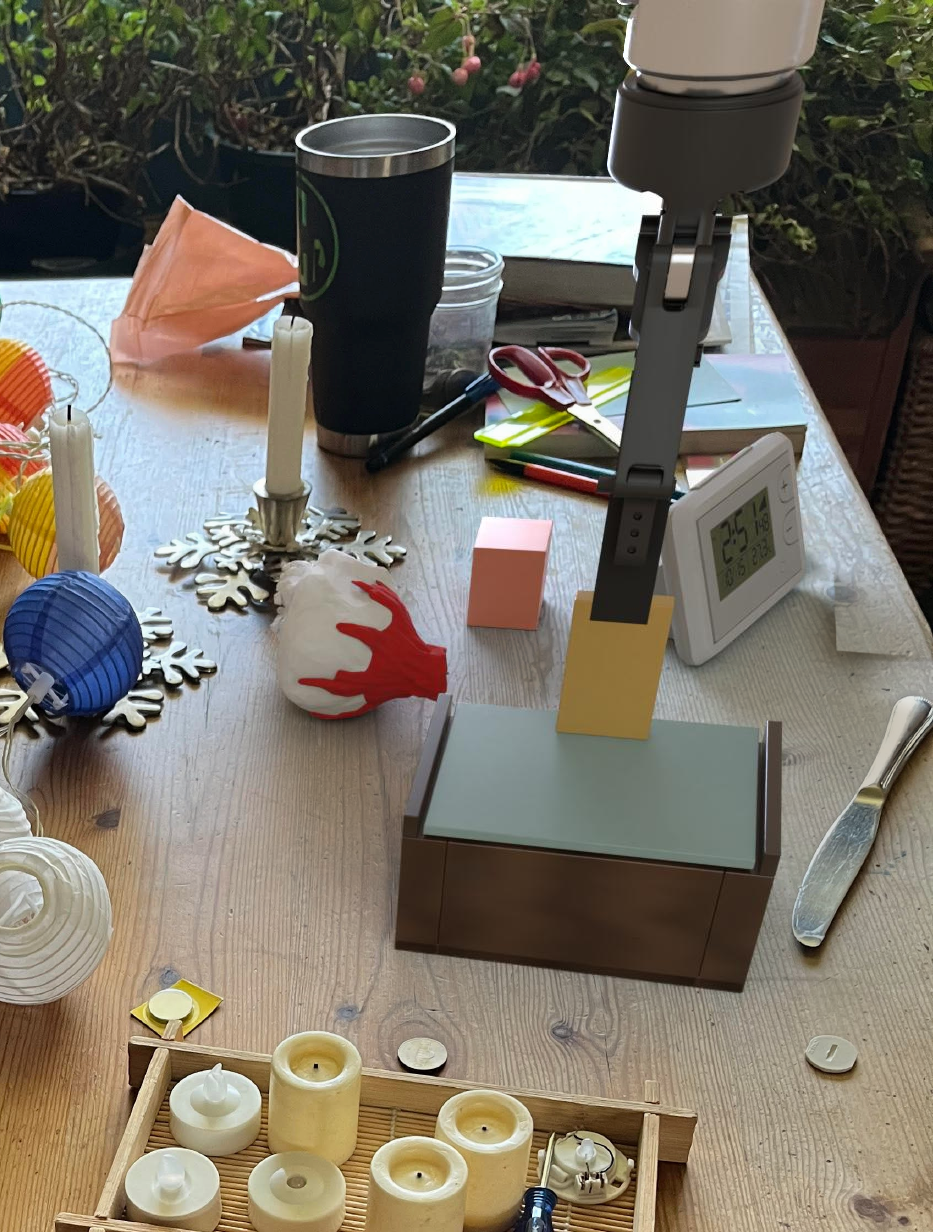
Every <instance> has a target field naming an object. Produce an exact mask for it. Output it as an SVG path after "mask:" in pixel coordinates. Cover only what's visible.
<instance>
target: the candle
mask: <svg viewBox="0 0 933 1232" xmlns="http://www.w3.org/2000/svg"><path fill="white" fill-rule="evenodd" d="M281 571H283V573H281V574H280V575H279V578H278V582H277V584H276V588H275V592H276V593H274V594H273V603H274V605H279V607H278V608H277V609H276V612H277V615H276V617H275V618H274V619H273V622H271V624H270V626H269V630H270V632H272V634H275V635H276V638H277V641H278V643H279V647H278V655H277V662H276V669H275V670H276V677H277V680H278V683H279V687H280V688H281V690H282V692H283V694H284V695H285V697H286V698H287V699H288V700H289V701H291V702H292V703H293V704H295V705H296V706H298V707H299V708H302V709H303V710H305V711H307V712H309V713H308V715H310V716H312V717H315V718H318V719H320V720H343V719H350V718H354V717H359V716H362V715H363V714H365V713H367V712H369V711H372V710H373V709H376V708H377V707H379V706H380V705H382V704H384V703H387V702H389V701H392V700H395V699H408V698H411V697H416V698H421V699H427V700H429V701H432V702H435V703H436V702H437V699H438V695H439V693H444V694H447V691H448V677H447V676H448V675H450V673H449V671H448V670H449V667H448V660H447V659H448V658H447V651H448V649H447V648H446V647H445V646H440V645H436V644H431V643H426V642H425V641H423V639H422V638H421V637H420V635H419V634H418V631H417V630H416V628H415V627H416V626H415V625H414V624H413V621H412V618H411V615H410V612H409V611H408V609H407V607H406V606H405V605H404V603H403V602H402V600H401V598H400V597H399V595H398V594H397V593H396V584H395V582H394V580H393V578H392V576H391V574H390V572H389V570H388V569H387V568H385V566H378V565H372V564H368V563H366V562H363V561H361V560H359V559H357V558H355V557H353V556H351V555H349V554H348V553H345V552H343V551H340V550H338V549H335V548H329V549H326V550H324V551H323V552H321V554H319V556H318V559H317V560H316V562H315V563H312V562H309V561H307V560H299V559H297V560H292V561H291V562H283V563H282V565H281Z"/></svg>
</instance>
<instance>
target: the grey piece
mask: <svg viewBox="0 0 933 1232" xmlns="http://www.w3.org/2000/svg"><path fill="white" fill-rule="evenodd" d="M593 596H594V590H581V589H577V590H576V592H575V595H574V600H573V608H572V614H571V622H570V627H569V628H570V630H569V636H568V641H567V649H566V656H565V662H564V671H563V677H562V685H561V690H560V691H561V692H560V697H559V704H558V705H559V706H558V710H553V709H543V708H531V707H530V708H529V707H519V706H518V707H517V706H506V705H493V704H481V703H472V702H471V703H469V702H456V707H455V709H454V712H453V716H454V717H453V720H452V724H451V728H450V731H449V735H448V739H447V742H446V746H445V750H444V753H443V757H442V761H441V764H440V768H439V772H438V775H437V779H436V783H435V786H434V790H433V794H432V797H431V801H430V805H429V808H428V812H427V816H426V819H425V823H424V828H423V834H426V835H436V836H445V837H454V838H464V839H473V840H482V841H492V842H501V843H510V844H520V845H529V846H538V847H548V848H557V849H566V850H576V851H585V852H594V853H604V854H613V855H622V856H632V857H641V858H651V859H660V860H669V861H679V862H688V863H697V864H707V865H716V866H725V867H735V868H744V869H753V868H754V865H755V861H756V824H757V788H758V752H759V742H760V727H756V726H754V727H753V726H745V725H743V726H742V725H732V724H721V723H720V724H718V723H706V722H697V721H696V722H695V721H683V720H672V719H671V720H670V719H662V718H661V719H660V718H653V716H654V712H655V707H656V706H655V705H656V701H657V695H658V690H659V685H660V680H661V676H662V675H661V674H662V669H663V664H664V659H665V654H666V649H667V643H668V639H669V638H668V634H669V629H670V623H671V618H672V613H673V608H674V599H675V598H674V596H660V595H653V597H652V603H651V608H650V613H649V619H648V624H647V625H642V624H629V623H616V622H603V621H590V614H591V608H592V602H593Z"/></svg>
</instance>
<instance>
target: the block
mask: <svg viewBox="0 0 933 1232" xmlns="http://www.w3.org/2000/svg"><path fill="white" fill-rule="evenodd" d="M553 526H554V520H553V519H539V518H538V519H537V518H536V519H535V518H517V517H501V516H499V517H498V516H483V517H482V519H481V522H480V526H479V528H478V531H477V535H476V539H475V541H474V546H473V551H472V563H471V573H470V584H469V594H468V605H467V617H466V626H468V627H469V626H470V627H483V628H495V629H497V628H498V629H510V630H512V629H513V630H525V631H537V628H538V625H539V619H540V616H541V612H542V611H541V610H542V606H543V603H544V602H543V601H544V597H545V588H546V581H547V574H548V566H549V558H550V550H551V543H552V535H553V528H554V527H553Z"/></svg>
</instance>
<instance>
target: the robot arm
mask: <svg viewBox="0 0 933 1232" xmlns="http://www.w3.org/2000/svg"><path fill="white" fill-rule="evenodd" d="M616 1H617V2H618V4H621V5H624V6H625V5H636V6H635V7H634V8H633V10H632V11H631V13H630V15H629V17H628V22H627V27H626V35H625V42H624V51H623V58H624V61H625V62H626V63H627V64H628V65H629V66H630V68H631V69H632V70H634V71H632V72H631V73H629V74H628V75H627V76H626V77H624V80H623V81H622V82H621V83H620V84H619V85H618V87H617V90H616V91H617V92H616V98H615V105H614V106H615V107H614V113H613V120H612V127H611V128H612V129H611V134H610V143H609V148H608V149H609V150H608V157H607V170H608V173H609V175H610V176H611V178H612V179H613V181H614V182H616V183H617V184H619V185H621V186H622V187H624V188H626V189H628V190H631V191H634V192H637V193H640V194H644V193H646V192H649V193H652V194H654V195H656V196H658V197H660V198H661V204H660V205H661V206H660V212H659V214H642V215H641V221H640V226H639V232H638V236H637V243H636V247H635V248H636V249H635V255H634V260H633V269H632V272H633V273H632V276H633V278H634V280H635V283H636V284H635V289H634V296H633V302H632V307H631V308H632V309H631V314H630V320H629V328H628V335H629V337H630V339H632V340H633V341H634V342H635V343H636V344H637V346H636V347H635V348H634V349H635V350H634V355H633V357H634V360H635V361H634V366H633V369H632V370H631V374H630V380H629V385H628V393H627V399H626V405H625V411H624V417H623V423H622V430H621V435H620V441H619V447H618V455H617V459H616V467H615V472H614V473H612V474H598V478H597V484H596V492H595V494H606V495H607V494H608V495H609V496H608V504H607V510H606V515H605V520H604V527H603V528H604V529H603V534H602V541H601V546H600V553H599V559H598V564H597V565H598V566H597V571H596V577H595V584H594V588H593V589H594V590H593V591H594V596H593V602H592V608H591V614H590V621H603V622H616V623H629V624H642V625H647V624H648V619H649V613H650V608H651V603H652V597H653V592H654V587H655V582H656V576H657V571H658V566H659V561H661V550H662V545H663V539H664V534H665V529H666V524H667V518H668V513H669V508H670V506H671V503H672V502H671V501H672V498H673V494H674V492H676V488H677V482H678V479H677V477H676V476H675V474H676V469H677V463H678V457H679V451H680V448H681V447H680V446H681V441H682V434H683V429H684V423H685V418H686V412H687V407H688V400H689V396H690V388H691V384H692V379H693V374H694V373H693V372H694V368H696V369H699V368H701V362H702V357H703V351H704V343H701V342H703V341H704V340H705V339H706V338H707V337H708V334H709V331H710V328H711V323H712V318H713V313H714V307H715V301H716V297H717V296H716V295H717V289H718V284H719V282H721V280H722V279H723V278H724V275H725V273H726V269H727V265H728V262H729V261H728V260H729V254H730V250H731V243H732V238H733V237H732V236H733V234H732V233H731V232H732V226H733V221H734V215H717V210H718V205H719V201H721V200H722V199H724V198H725V197H727V196H730V195H733V194H735V193H740V194H748V193H752V192H755V191H758V190H760V189H764V188H766V187H768V186H770V185H772V184H774V183H775V182H777V181H778V180H779V179H780V178H781V177H782V176H783V175H784V174H785V173H786V171H787V170H788V167H789V165H790V162H791V157H792V152H793V147H794V143H795V137H796V133H797V129H798V123H799V119H800V114H801V110H802V105H803V101H804V100H803V99H804V94H805V90H806V83H805V82H804V81H803V77H802V75H801V74H800V73H799V72H798V71H797V70H796V69H798V68H800V67H802V66H804V65H805V64H806V63H807V62H809V60H810V59H811V58H812V57H813V55H814V54H815V51H816V47H817V43H818V38H819V37H818V36H819V31H820V28H821V22H822V18H823V13H824V8H825V3H826V0H616Z"/></svg>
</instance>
